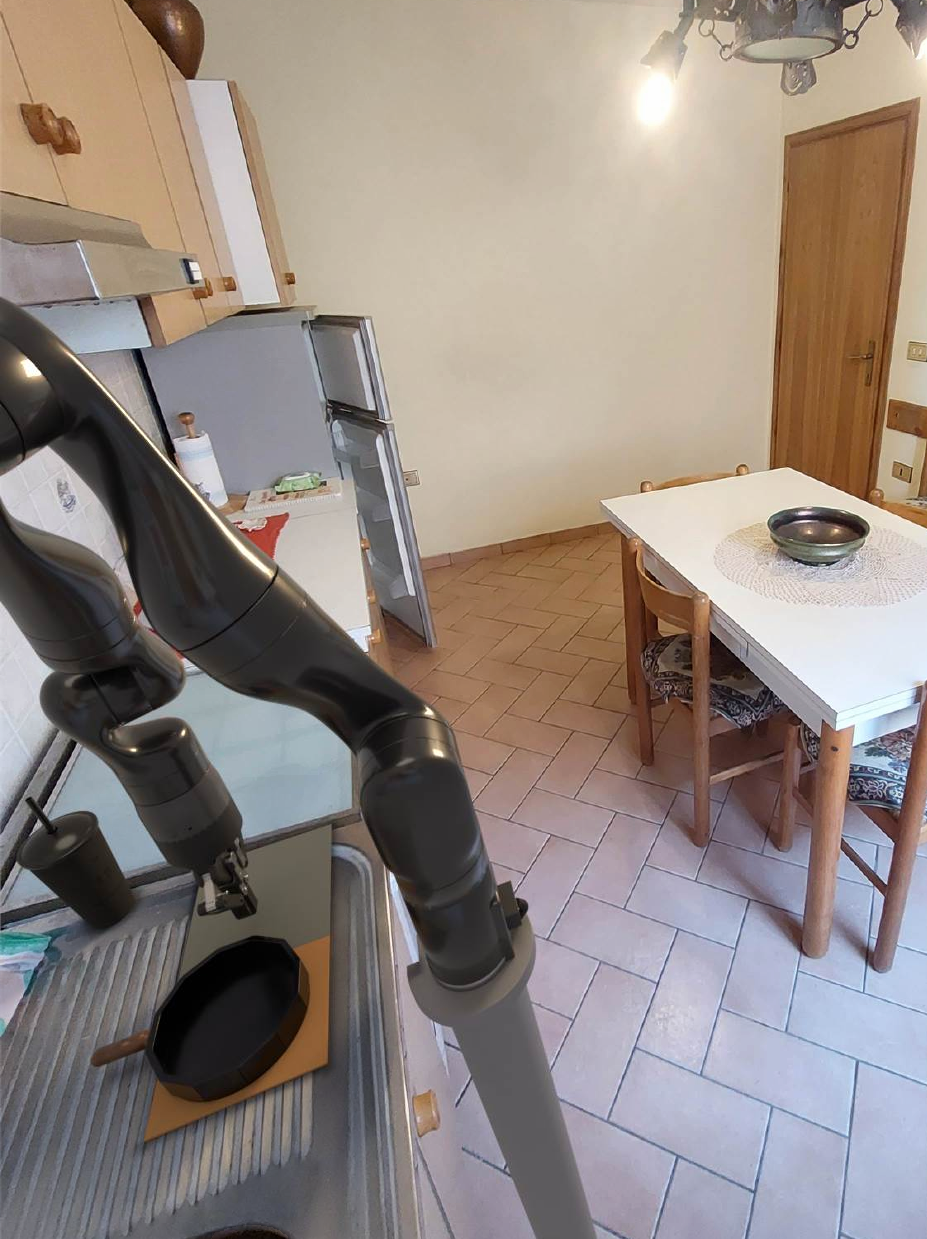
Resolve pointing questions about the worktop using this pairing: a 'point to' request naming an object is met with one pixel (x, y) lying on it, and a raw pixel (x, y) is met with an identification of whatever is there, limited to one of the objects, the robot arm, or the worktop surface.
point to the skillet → (223, 1020)
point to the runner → (287, 908)
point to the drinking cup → (77, 866)
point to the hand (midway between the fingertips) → (248, 911)
